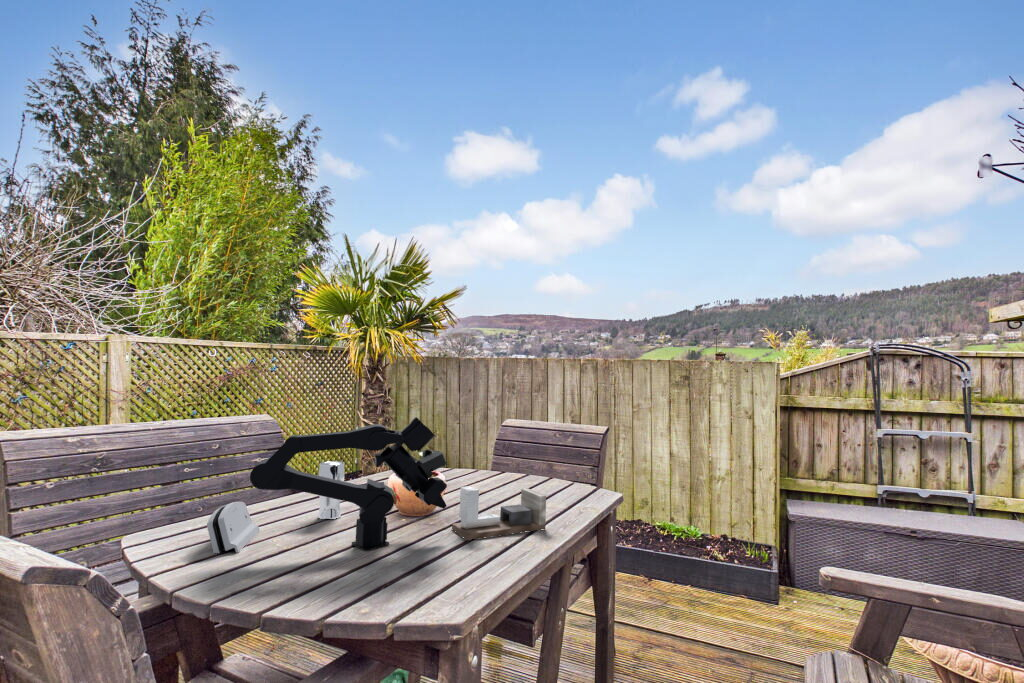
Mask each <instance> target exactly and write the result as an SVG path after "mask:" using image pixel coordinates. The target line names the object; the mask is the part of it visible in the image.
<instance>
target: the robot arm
mask: <svg viewBox="0 0 1024 683" xmlns="http://www.w3.org/2000/svg"><path fill="white" fill-rule="evenodd" d="M435 437H436V434H434V432H433V431H432V430H431V429H430V428H429V427H428V426H427V425H426V424H424V423H423V422H422V421H421V420H420V419H419V418H418V417H417V416H415V417H414V418H413V419H412V420H411V421H410V422H409V423H408V424H407V425H406V426H405V427H404V428H402V430H401V431H400V430H397V429H394V430H393V429H387V427H386V426H384V425H383V424H380V423H374V424H370V425H365V426H362V427H359V428H356V429H353V430H349V431H347V430H346V431H338V432H326V433H311V434H292V435H290V436H289V437H287V439H286V440H285V441H284V443H283V444H282V445H281V446H280V447H279V448H278V449H277V450H276V451H275V452H274V453H273V454H272V456H270V457H269V458H266V459H264V460H261V461H260V462H259V463H258V464H256V465H255V467H253V468H252V469H251V472H250V475H249V480H250V483H251V485H252V487H254V488H255V489H257V490H263V491H264V490H265V491H282V490H283V491H285V490H293V491H297V492H298V491H299V492H302V493H307V494H310V495H311V494H312V495H315V496H319V495H320V496H324V497H329V498H333V499H338V500H340V501H344V502H348V503H351V504H354V505H355V506H358V507H359V510H358V511H359V512H358V518H357V519H356V522H355V523H356V525H355V541H352V542H351V545H352V546H355V547H356V548H358V549H361V550H363V551H366V552H367V551H368V552H369V551H371V550H375V549H378V548H382V547H386V546H389V545H390V541H387V540H388V522H387V516H386V514H388V513H389V512H391V510H392V509H393V508H394V505H395V504H394V503H395V499H394V495H393V491H392V489H391V488H390V487H389V486H388V485H386V484H385V481H376V480H373V479H370V478H367V479H366V480H367V482H366V483H364V484H357V483H352V482H347V481H344V482H343V481H339V480H335V479H330V478H326V477H322V476H318V475H317V474H314V473H313V474H312V473H308V472H304V471H299V470H298V469H296V468H293V467H292V466H291V465H289V464H288V463H289V462H290V461H291V460H292V459H293V458H294V457H295V456H296V454H300V453H301V454H302V453H310V452H319V451H327V450H328V451H332V450H341V449H343V450H344V449H357V450H363V451H381V450H382V451H381V452H380V453H374V466H375V467H376V468H379V467H381V466H382V465H383V463H384V464H385V465H386V466H387V467H388V468H389V469H390V470H391V471H392V473H394V474H395V476H396V477H397V478H398V479H400V480H401V481H402V487H403V488H404V489H405V490H407V491H408V492H413V493H414V496H415V497H416V498H417V499H419V500H420V501H422V502H423V503H424V504H426V505H427V506H435V507H437V508H441V509H445V508H446V507H447V503H446V502H445V500H444V498H443V497H442V493H443V492H444V491H445V490H446V489H447V488H448V484H447V483H446V482H445V481H444V480H443V479H441V478H439V477H432V476H434V473H433V472H435V471H436V470H439V469H440V468H441V467H443V468H444V467H445V466H447V463H448V462H447V461H446V457H445V456H444V453H443V451H440V450H433V451H432V450H430V449H428V448H426V449H425V450H423V449H424V448H425V447H426V446H427V445H428V443H430V442H431V441H432V440H433V439H434V438H435ZM390 445H391V446H390ZM403 445H404V446H406V447H407V448H408V449H409V450H410V451H411V452H412V453H414V452H416V451H417V452H418V453H419V452H420V451H422V450H423V451H422V457H420V459H417V458H415V457H414V456H413V455H412V454H411V453H410V452H409V451H408V450H407V449H406V448H405V447H404V446H403Z"/></svg>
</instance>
